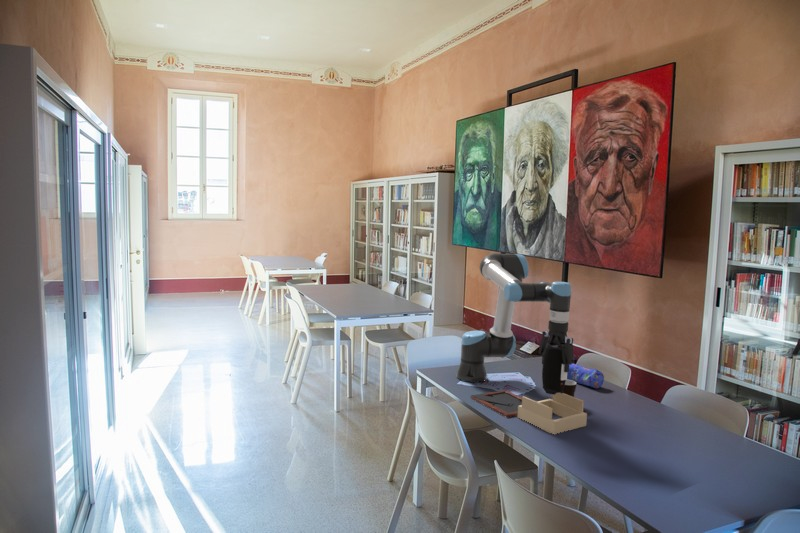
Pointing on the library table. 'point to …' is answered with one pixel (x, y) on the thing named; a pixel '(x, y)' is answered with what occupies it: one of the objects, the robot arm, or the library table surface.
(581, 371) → the pencil case
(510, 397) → the picture frame
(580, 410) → the carton
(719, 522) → the library table surface
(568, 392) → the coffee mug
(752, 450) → the library table surface
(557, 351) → the portable speaker
